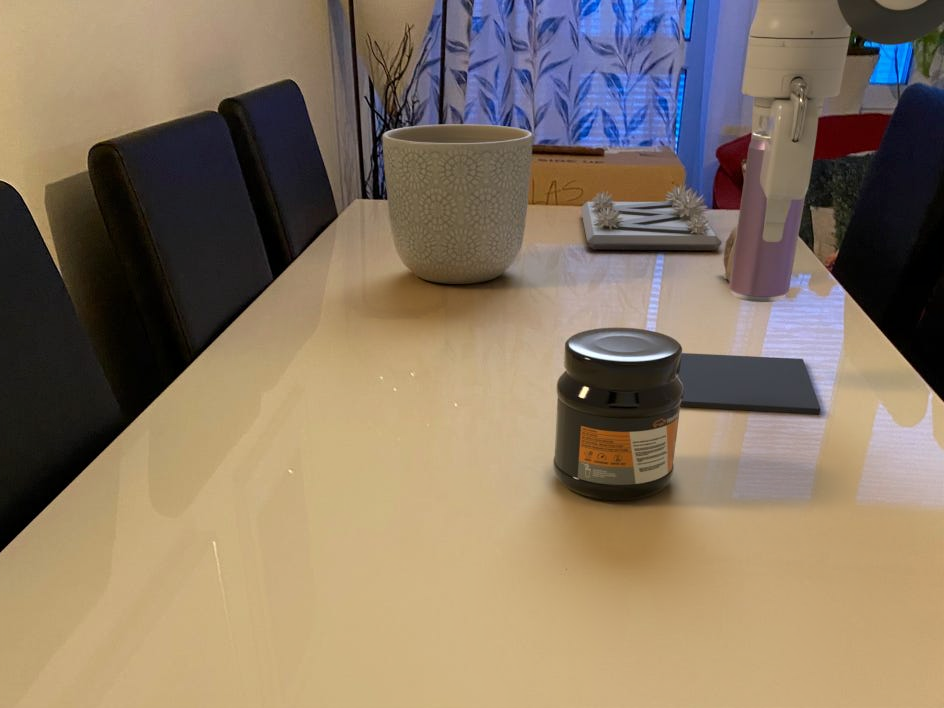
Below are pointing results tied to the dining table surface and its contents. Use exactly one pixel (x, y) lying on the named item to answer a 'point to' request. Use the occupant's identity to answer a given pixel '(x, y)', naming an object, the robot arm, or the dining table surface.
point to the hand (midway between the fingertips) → (768, 232)
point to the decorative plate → (649, 224)
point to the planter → (457, 198)
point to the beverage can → (756, 261)
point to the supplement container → (618, 413)
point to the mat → (747, 383)
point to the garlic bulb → (729, 253)
